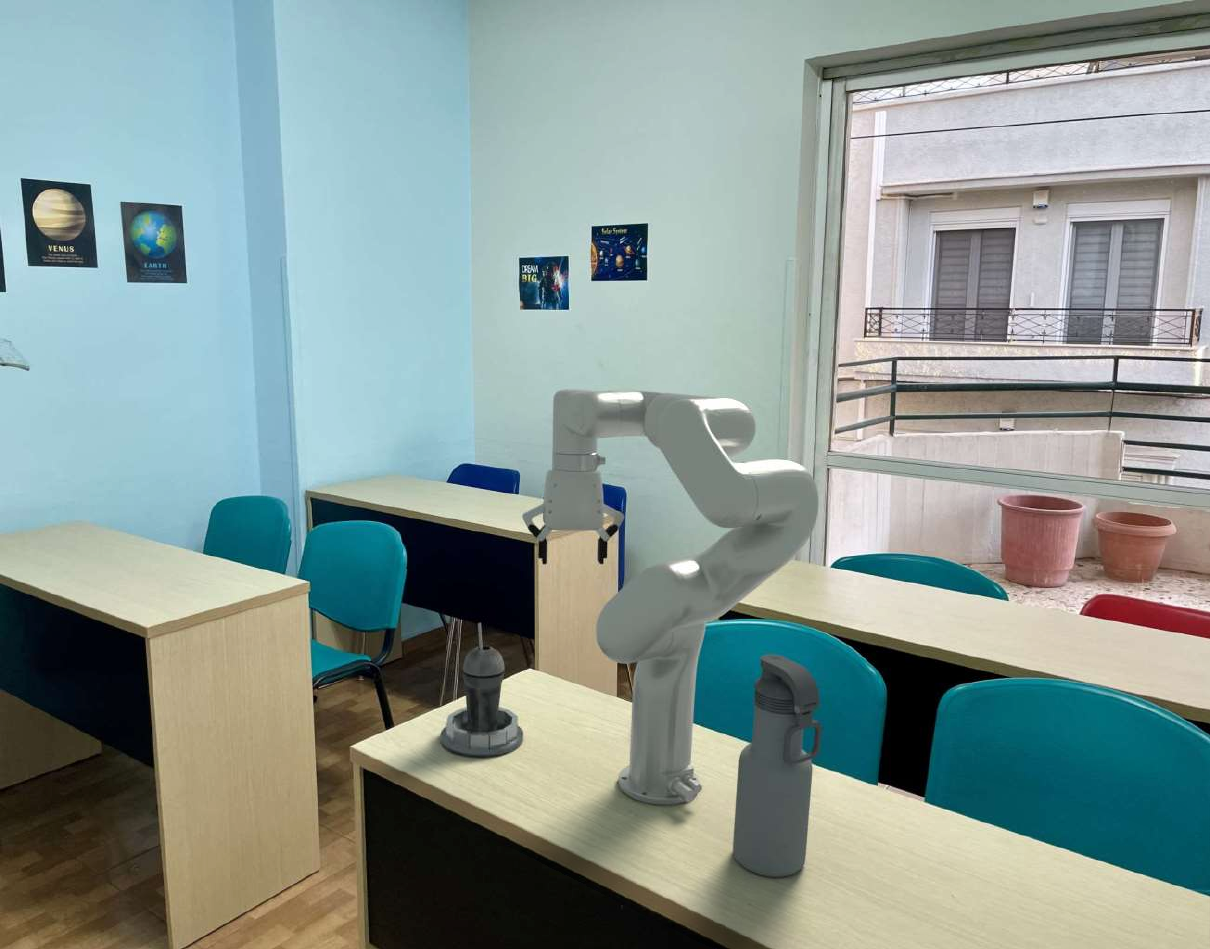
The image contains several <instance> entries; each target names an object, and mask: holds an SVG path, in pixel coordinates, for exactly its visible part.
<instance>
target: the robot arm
mask: <svg viewBox="0 0 1210 949" xmlns="http://www.w3.org/2000/svg"><path fill="white" fill-rule="evenodd" d="M756 430H757V427H756V422H755V418H754V415H753V413H752V412H751V411H750V409H749V408H748V407H747V406H746V405H745V404H744V403H741V402H740V401H737V400H735V399H733V398H729V397H724V396H723V397H722V396H721V397H720V396H710V395H709V396H708V395H698V394H697V395H696V394H687V393H686V394H685V393H674V392H657V391H647V390H645V391H644V390H594V391H592V390H588V389H561V390H558V391H556V392H555V394H554V396H553V400H552V448H551V449H552V452H551V456H552V458H551V459H552V460H551V462H552V464H551V469H548V470H547V473H546V476H545V483H544V488H543V489H544V492H543V503H542V504H539V505H537V506H536V507H533V508H531V509H529V510H528V511H525V512H523V513H522V515H521V518H522V519H523V522H524V524H525V525H526V527H527V529H528V531H529V532H530V533H531V535H533V537H535V538H536V539H537V541H538V542H537V543H538V545H537V549H538V551H537V557H538V558H537V559H538V560H539V559H541V562H542V565H547V564H548V540H547V537H548V536H549V534H550V533H552V532H553V531H564V532H565V531H576V532H577V531H595V532H596V534H598V535H599V537H598V539H597V562H598V564H599V565H604V559H608V542H609V541H610V539H611V537H613V536H614V535H615V534H616V533H617V532H618V531H619V529H620V526H621V525H622V523H623V521H624V519H625V514H623V513H622V512H620V511H618V510H616V509H614V508H613V507H610V506H609V505H607V504H605V503H604V488H603V480H602V479H603V478H602V474H601V471H600V470H598V467H599V466H602V465H603V466H604V465H606V456H601V455H599V454H598V439H605V438H606V439H607V438H618V437H619V438H620V437H644V438H645V437H646V438H647V439H648V441H649V442H650V443H651V444H652V445H653V446H654V447H655V448H657V449H659V450H660V451H661V453H662V454H663V456H664V458H665V461H666V462H667V463H668V465H669V467H670V469H671V470H672V472H673V473H674V475H675V476H676V478H677V480H678V481H679V482H680V483H681V485H682V487H683V489H684V490H685V491H686V494H688V496H689V498H690V500H692V502H693V504H694V505H695V507H696V509H697V511H699V512H700V514H701V516H703V517H704V518H705V520H707V521H709V523H711V524H712V525H714V526H717V527H718V528H719V527H720V528H723V529H730V530H728V531H727V532H726V533H724V534H723V535H722V536H720V538H719V539H718V540H717V541H715V543H713V544H712V545H710V546H709V547H708V548H707V549H706V550H703V551H702V552H700V553H699V554H698V553H697V555H693V556H689V557H684V558H678V559H673V560H669V561H668V560H666V561H661V562H659V563H655V564H653V565H650V566H648V567H647V568H645V569H643V570H642V571H640V572H639V573H638V574H637V575H635V576H634V577H633V578H632V579H631V580H630V581H629V582H627V584H625V585H624V586H623V587H622V588H621V589H620V590H619V591H618V592H617V593H616V594H615V595H614V596H612V597H611V598H610V599H609V600H608V601H607V602H606V603H605V605H604V606H603V607H602V609H601V611H600V612H599V614H598V617H597V620H596V626H595V637H596V641H597V645H598V647H599V649H600V651H601V652H602V653H603V654H604V655H605V656H606V658H608V659H610V660H611V661H613V662H615V663H618V664H635V663H637V664H636V666H635V671H634V676H633V685H632V701H631V702H632V703H631V708H632V709H631V723H630V724H631V726H630V742H629V743H630V746H629V765H627V766H626V767H624V768H623V769H622V770H621V771H620V772H619V775H618V786H619V788H620V789H621V791H622V792H623V793H625V795H627V796H629V797H630V798H632V799H634V800H637V801H639V802H642V803H646V804H651V805H658V806H659V805H661V806H662V805H666V806H668V805H676V804H680V803H681V804H682V803H684V802H686V803H691V802H693V800H694V799H695V797H696V795H697V794H699V793H700V792H701V791H702V790H703V788H702V786H703V785H701V784H700V779H699V776H697V774H696V773H695V772H694V770H695V767H694V766H693V765H692V764H691V762H692V746H693V726H694V711H695V694H696V680H697V670H698V662H699V657H700V652H701V648H702V644H703V641H704V636H705V632H706V626H707V625H706V624H707V623H709V622H711V621H714V620H716V619H719V618H720V617H722V616H724V615H725V614H726V613H727V612H729V611H730V610H731V609H732V608H734V607H735V606H736V605H737V604H738V603H740V602H741V601H743V600H744V599H745V598H746V597H747V596H749V595H750V594H751V593H753V592H754V591H755V590H756V589H757V588H759V587H760V586H761V585H762V584H763V583H764V582H765V581H767V580H768V579H769V578H771V577H772V576H773V575H774V574H776V573H777V572H778V571H779V570H781V569H782V568H784V567H785V566H786V565H788V563H789V562H790V561H792V560H793V559H794V558H795V557H796V556H797V555H798V554H799V553H800V551H801V550H802V549H803V547H804V546H805V545H806V544H807V542H808V541H809V539H810V537H811V535H812V533H813V531H814V528H815V525H816V522H817V520H818V519H817V517H818V515H819V514H818V512H819V493H818V487H817V486H818V485H817V484H816V481H815V479H814V477H813V475H812V474H811V473H810V471H809V469H806V468H805V467H804V466H803V465H801V464H799V463H796V462H794V461H791V460H786V459H780V458H779V459H775V458H774V459H773V458H771V459H758V460H757V459H756V460H748V461H735V462H732V461H731V459H730V458H731V457H734V456H737V455H739V454H740V453H743V452H744V451H746V449H747V448H748V447H750V445H751V444H752V441H753V440H754V438H755V435H756ZM541 514H542V520H543V521H542V522H543V523H544V524H543V525H542V527H541V528H538V526H537V525H536V524H534V521H533V519H534V518H536V517H537V516H539V515H541ZM605 515H607V516H609V517H611V518H613V520H612V523H611V524H610V525H609V526H608V527H607V528H604V526H603V525H604V520H605V518H604V516H605Z"/></svg>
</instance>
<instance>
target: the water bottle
mask: <svg viewBox="0 0 1210 949" xmlns="http://www.w3.org/2000/svg"><path fill="white" fill-rule="evenodd" d="M760 668H761V670H762V672H761V677H759V678H758V679H756V680H755V682H754V684H753V688H754V691H753V692H754V694H753V696H754V699H753V701H752V704H753V705H752V706H754V713H753V725H752V726H753V727H752V742H750V743H749V744H747V745H746V746H745V747H744V748H743V749H742V750H741V751H740V754H739V758H738V766H737V768H738V769H737V779H736V780H737V783H736V797H735V811H734V825H733V826H734V828H733V839H732V840H733V841H732V842H733V843H732V852H733V856H734V857H735V860H736V861H737V862H738V864H740V865H741V866H742V867H743V868H745V869H746V870H748V871H749V872H752V873H754V874H758V875H761V876H764V877H771V878H772V877H773V878H782V877H789V876H792V875H795V874H796V873H798V872H799V871H800V870H801V869H802V868H803V866H804V865H805V861H806V858H807V857H806V856H807V847H808V846H807V844H808V832H809V830H808V829H809V819H810V806H811V794H812V793H811V792H812V784H813V783H812V782H813V781H812V780H813V770H814V769H813V763H812V760H813V759H816V757H818V755H819V753H820V750H821V743H822V742H821V740H822V730H823V729H822V728H823V727H822V724H821V723H820V721H817V720H815V719H813V716H814V711H815V710H818V709H819V708H820V692H819V688H818V685H817V682H816V681H815V679H814V677H813V676H812V674H811V672H810V671H809V670H808V669H807V668H806V667H804V666H803V665H801V664H800V663H797V662H796V661H792V660H791V659H788V658H787V657H785V656H783V655H778V654H772V653H771V654H763V655H762V656H760ZM813 727H814V737H813V738H814V740H813V747H812V749H811V750H810V751H809V753H807V751H805V750H804V749H803V737H804V736H803V735H804V730H805V729H807V728H813Z"/></svg>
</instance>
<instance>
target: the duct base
mask: <svg viewBox="0 0 1210 949" xmlns="http://www.w3.org/2000/svg"><path fill="white" fill-rule="evenodd" d="M518 724H519V716H518V715H517V714H515V713H514V712H513V711H512V710H511V709H508V708H503V707H500V706H499V709H498V718H497V727H496V731H494V732H489V733H472V732H469V729H468V720H467V707H462V708H459V709H457V710H455V711H454V712H452V713H450V714H448V715H447V718H446V722H445V727H443V729H442V730H441V733H440V744H441V746H442V747H443V749H445V750H446V751H448V752H449V753H451V754H453V755H457V756H460V757H465V758H470V759H471V758H472V759H475V758H476V759H486V758H495V757H500V756H504V755H508V754H510V753H512V752H514V751H515V750H517V749H518V748H519V747H520V746H521V745H522V743H523V741H524V732H523V729H522V727H520V726H519V725H518Z"/></svg>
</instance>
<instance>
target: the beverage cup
mask: <svg viewBox="0 0 1210 949" xmlns="http://www.w3.org/2000/svg"><path fill="white" fill-rule="evenodd" d="M477 631H478V643H479V644H478V645H479V646H477V647H474V648H473V649H472V650H470V652H468V653H467V655H466V656H465V658H464V662H463V665H462V670H461V673H462V676H463V677H462V678H463V683H464V687H465V688H464V689H465V690H464V691H465V704H466V705H465V706H466V708H467V720H468V729H469V732H472V733H489V732H494V731H496V727H497V718H498V709H499V707H500V701H501V700H500V699H501V692H502V684H503V681H504V675H505V672H506V668H505V662H504V659H503V656H502V655H501V653H500V652H499V651H498V650H497V649H496V648H494V647H491V646H489V645H483V634H482V632H483V631H482V623H481V622H478V623H477Z"/></svg>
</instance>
